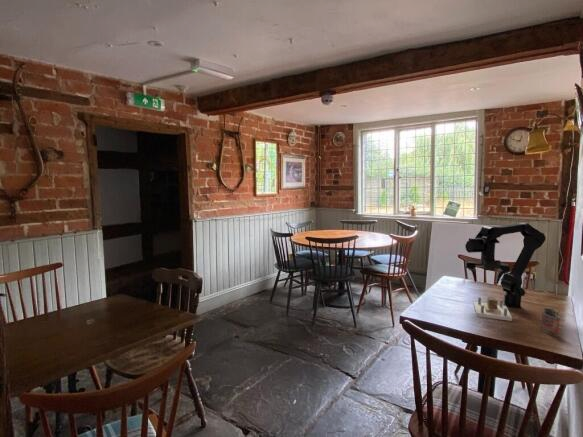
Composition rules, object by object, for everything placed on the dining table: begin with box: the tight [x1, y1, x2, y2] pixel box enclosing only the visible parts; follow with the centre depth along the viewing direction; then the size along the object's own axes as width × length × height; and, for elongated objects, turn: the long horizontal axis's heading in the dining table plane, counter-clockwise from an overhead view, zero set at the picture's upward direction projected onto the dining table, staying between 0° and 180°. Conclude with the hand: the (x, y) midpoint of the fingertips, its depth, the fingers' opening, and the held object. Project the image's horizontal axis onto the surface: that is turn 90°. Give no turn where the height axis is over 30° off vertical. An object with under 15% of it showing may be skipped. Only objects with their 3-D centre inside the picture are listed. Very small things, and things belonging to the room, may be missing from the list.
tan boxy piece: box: [483, 296, 501, 314], centre depth 166 cm, size 6×9×5 cm, turn 158°
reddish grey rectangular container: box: [539, 306, 561, 337], centre depth 145 cm, size 8×3×10 cm, turn 5°
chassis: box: [473, 297, 513, 322], centre depth 167 cm, size 14×16×4 cm
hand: (485, 283), depth 173 cm, fingers open, 9 cm apart
